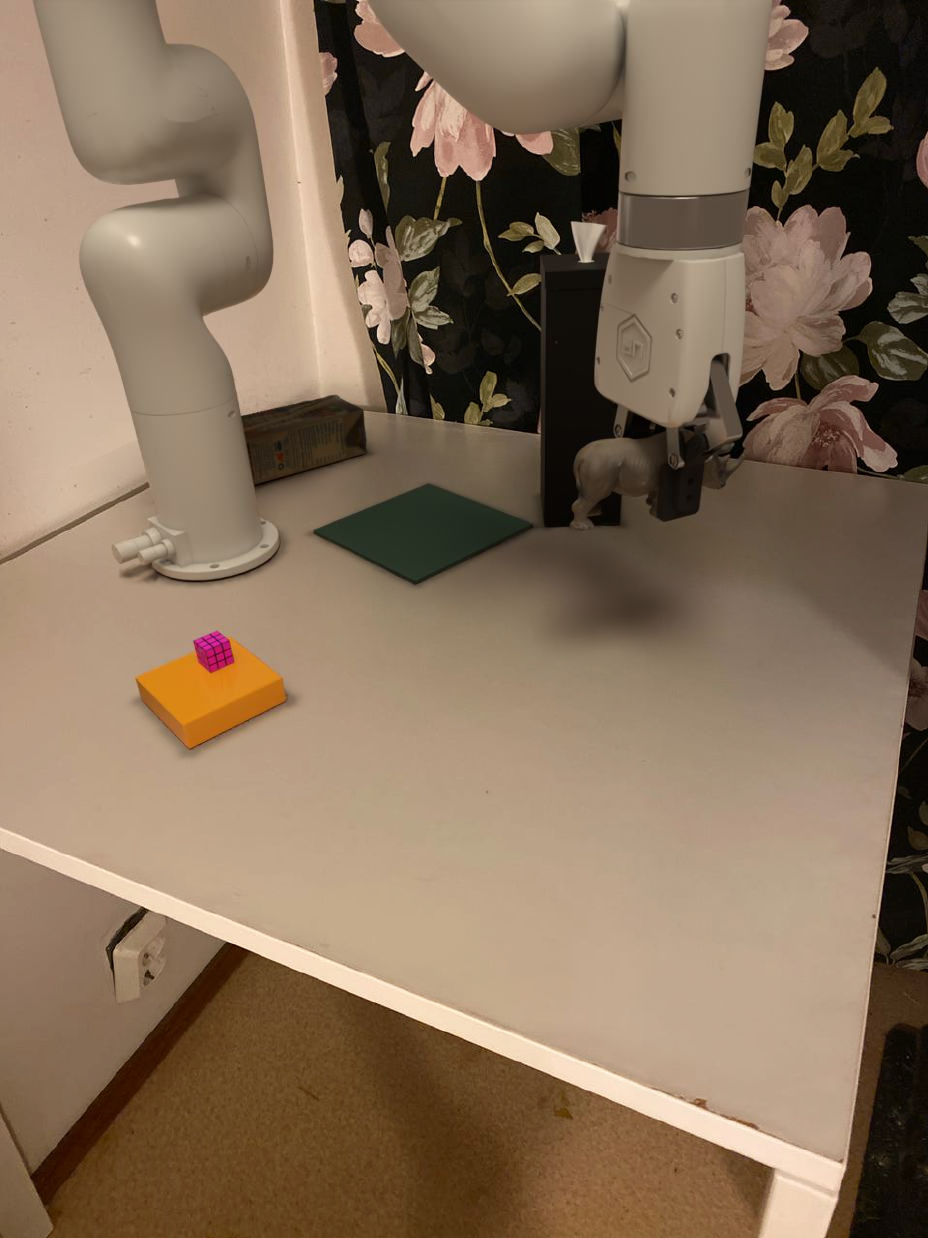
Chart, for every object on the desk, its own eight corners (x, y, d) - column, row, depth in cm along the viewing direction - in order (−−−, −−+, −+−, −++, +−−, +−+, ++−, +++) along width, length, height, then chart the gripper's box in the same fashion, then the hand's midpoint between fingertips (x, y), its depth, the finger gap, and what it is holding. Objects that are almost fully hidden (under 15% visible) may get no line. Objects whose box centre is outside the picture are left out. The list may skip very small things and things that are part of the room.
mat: (415, 584, 79) (415, 580, 79) (313, 533, 89) (313, 529, 89) (533, 526, 88) (533, 523, 88) (428, 486, 98) (428, 482, 98)
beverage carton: (371, 454, 108) (366, 402, 104) (227, 497, 98) (216, 441, 95) (339, 437, 113) (333, 388, 110) (200, 476, 104) (188, 423, 100)
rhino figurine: (756, 507, 62) (769, 426, 58) (578, 539, 59) (582, 455, 55) (725, 486, 65) (736, 408, 62) (555, 514, 62) (557, 433, 59)
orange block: (287, 701, 65) (278, 654, 63) (189, 750, 61) (176, 701, 58) (235, 658, 70) (225, 613, 68) (141, 700, 66) (127, 654, 64)
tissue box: (620, 525, 88) (638, 225, 73) (543, 528, 88) (545, 229, 73) (611, 494, 94) (625, 213, 80) (539, 496, 95) (540, 216, 80)
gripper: (555, 214, 57) (550, 473, 67) (721, 249, 44) (686, 565, 54) (649, 204, 60) (632, 455, 69) (833, 234, 47) (780, 538, 56)
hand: (655, 500), depth 61 cm, fingers closed on rhino figurine, 4 cm apart
